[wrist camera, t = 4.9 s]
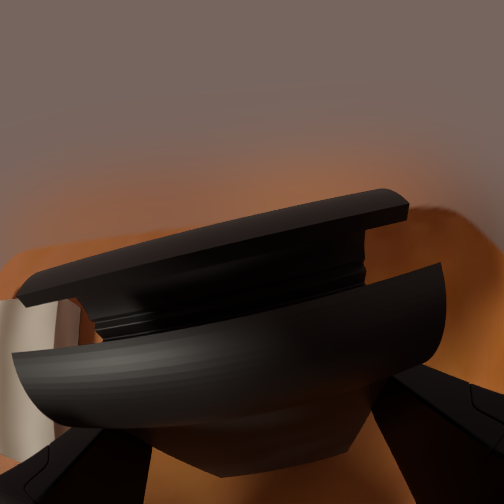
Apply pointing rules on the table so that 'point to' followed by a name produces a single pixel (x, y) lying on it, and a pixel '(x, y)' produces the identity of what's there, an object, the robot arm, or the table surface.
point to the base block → (6, 379)
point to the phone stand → (239, 336)
